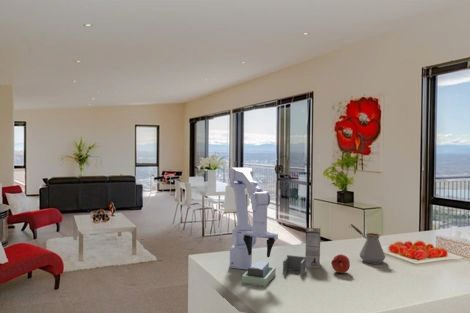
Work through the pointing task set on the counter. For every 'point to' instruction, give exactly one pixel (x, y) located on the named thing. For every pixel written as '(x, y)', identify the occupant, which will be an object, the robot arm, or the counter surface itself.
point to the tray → (259, 278)
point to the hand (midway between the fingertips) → (259, 255)
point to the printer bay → (294, 263)
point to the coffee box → (312, 247)
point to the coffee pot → (371, 248)
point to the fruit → (340, 263)
